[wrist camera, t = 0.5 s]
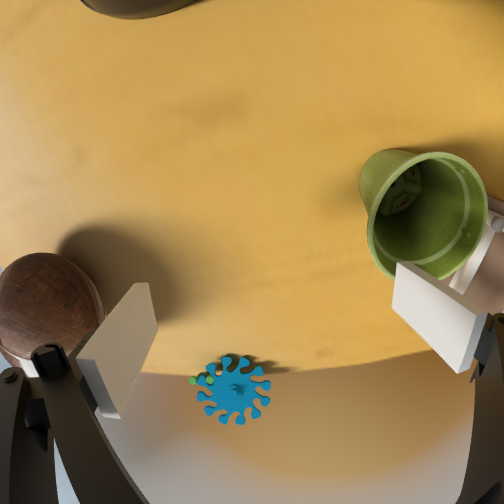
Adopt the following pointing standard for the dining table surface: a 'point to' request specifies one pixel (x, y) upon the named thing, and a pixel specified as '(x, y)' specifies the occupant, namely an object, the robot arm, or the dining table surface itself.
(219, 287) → the dining table surface
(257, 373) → the blue plastic toy
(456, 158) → the plant pot
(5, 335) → the wooden sphere
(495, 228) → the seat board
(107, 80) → the dining table surface
